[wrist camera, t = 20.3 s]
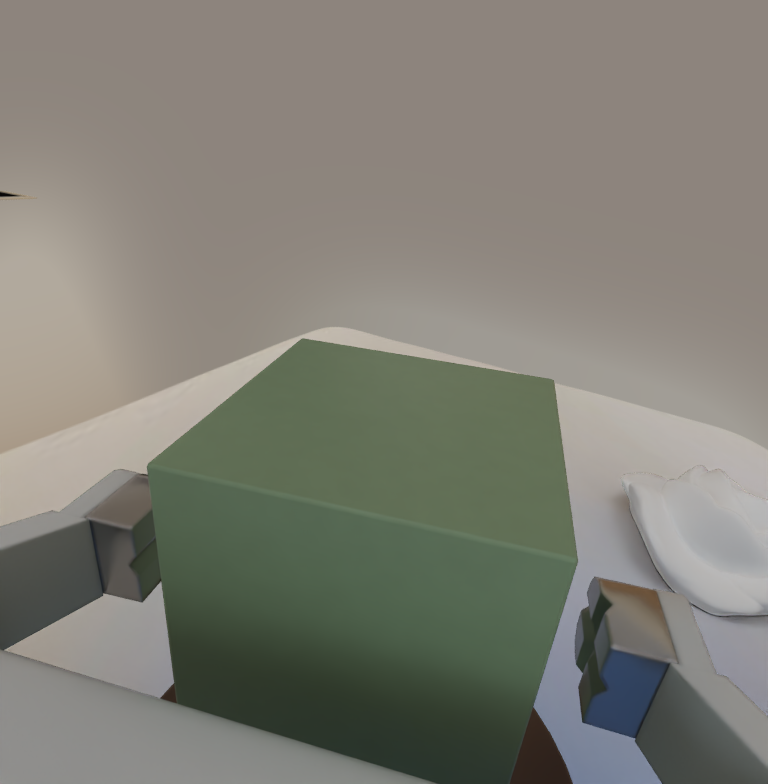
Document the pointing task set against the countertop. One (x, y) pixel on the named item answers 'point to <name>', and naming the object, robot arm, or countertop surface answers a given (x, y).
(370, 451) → the block
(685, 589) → the white flat lumpy piece
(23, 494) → the countertop surface
